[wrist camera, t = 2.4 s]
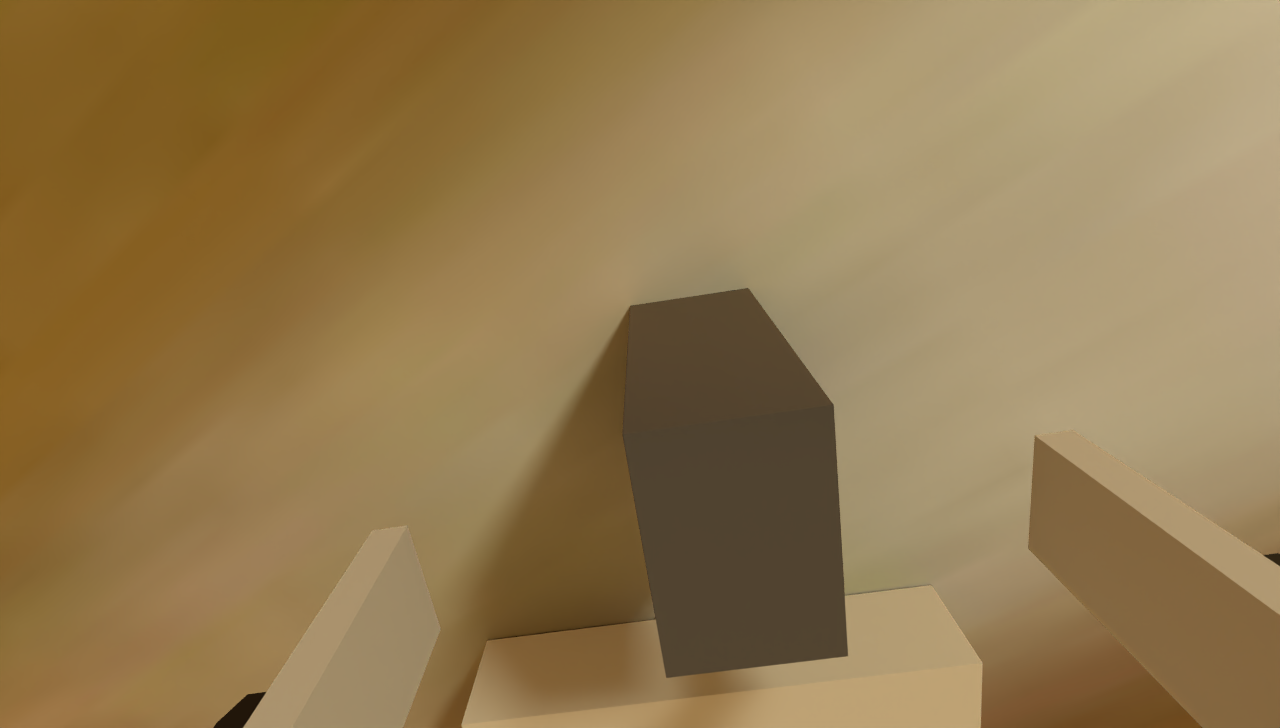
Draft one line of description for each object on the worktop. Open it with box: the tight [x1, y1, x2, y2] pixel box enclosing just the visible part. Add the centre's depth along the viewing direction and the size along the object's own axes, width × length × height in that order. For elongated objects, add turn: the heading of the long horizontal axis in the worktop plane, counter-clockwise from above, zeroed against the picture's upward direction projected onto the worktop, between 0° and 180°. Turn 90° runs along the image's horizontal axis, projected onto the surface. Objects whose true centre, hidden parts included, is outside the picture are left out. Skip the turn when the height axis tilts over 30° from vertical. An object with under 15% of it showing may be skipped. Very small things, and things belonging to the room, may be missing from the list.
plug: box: [623, 288, 848, 678], centre depth 18 cm, size 4×6×10 cm, turn 9°
